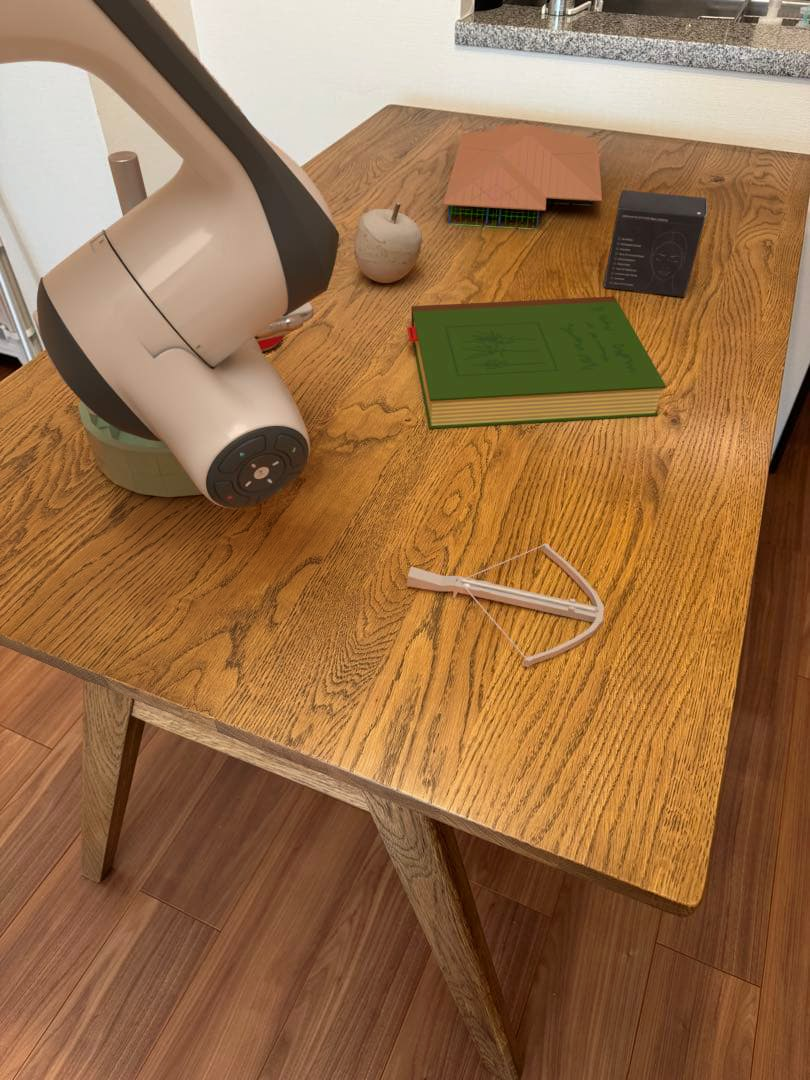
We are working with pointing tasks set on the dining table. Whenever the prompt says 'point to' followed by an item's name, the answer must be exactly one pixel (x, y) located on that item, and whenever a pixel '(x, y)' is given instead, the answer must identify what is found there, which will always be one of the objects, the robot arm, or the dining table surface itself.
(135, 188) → the silver rod stand
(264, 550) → the dining table surface
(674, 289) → the box
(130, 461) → the bowl
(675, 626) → the dining table surface
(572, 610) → the crossbow
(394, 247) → the decorative object
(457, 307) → the hardcover book
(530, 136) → the house
